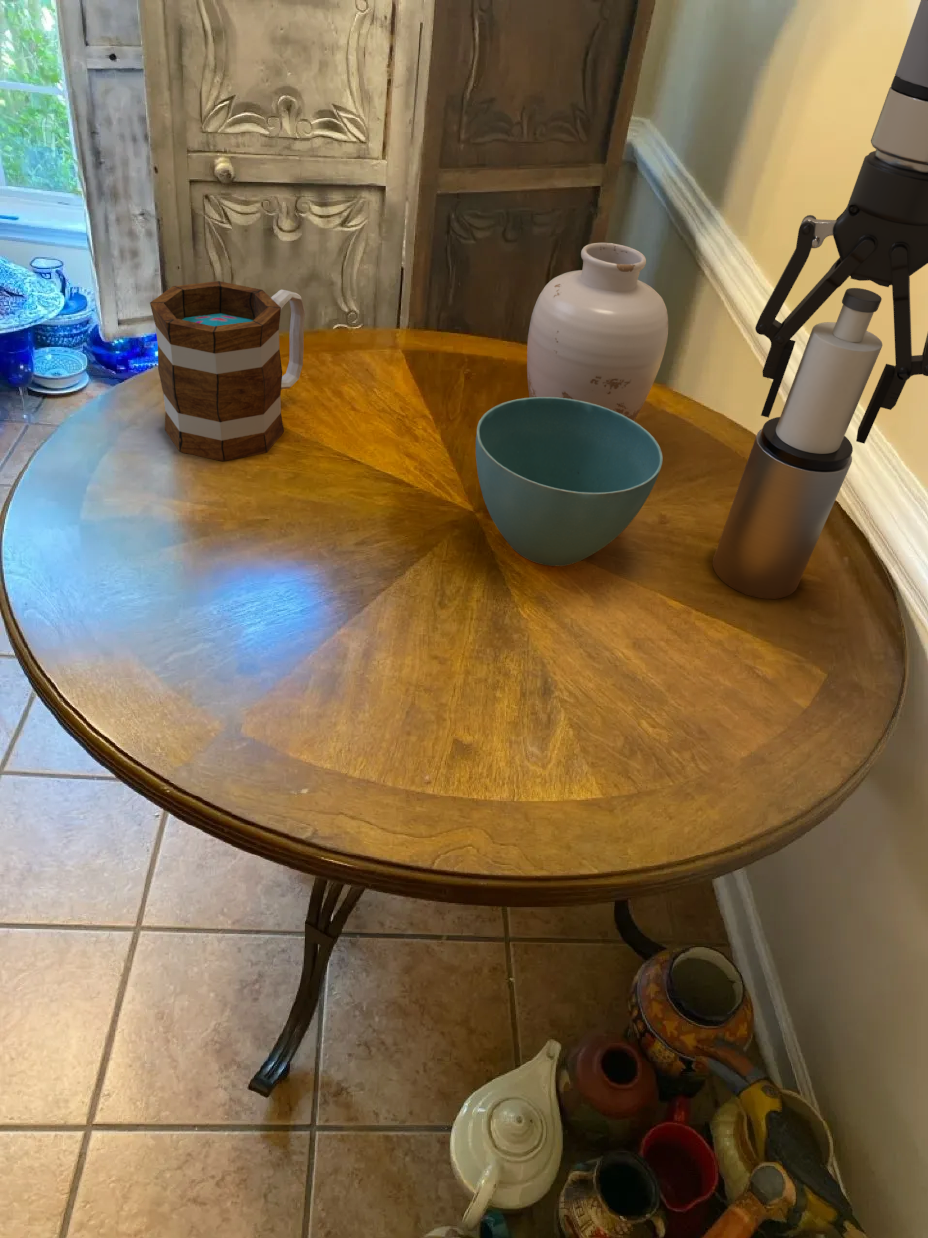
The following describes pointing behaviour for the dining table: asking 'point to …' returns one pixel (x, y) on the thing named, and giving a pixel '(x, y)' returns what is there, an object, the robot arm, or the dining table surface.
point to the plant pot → (563, 475)
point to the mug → (225, 366)
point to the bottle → (831, 377)
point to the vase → (598, 332)
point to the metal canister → (778, 514)
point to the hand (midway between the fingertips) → (813, 423)
